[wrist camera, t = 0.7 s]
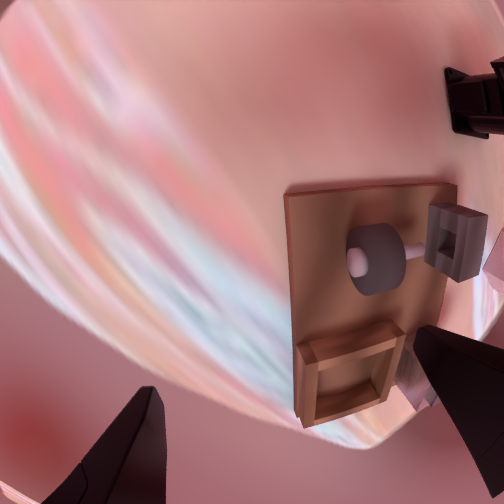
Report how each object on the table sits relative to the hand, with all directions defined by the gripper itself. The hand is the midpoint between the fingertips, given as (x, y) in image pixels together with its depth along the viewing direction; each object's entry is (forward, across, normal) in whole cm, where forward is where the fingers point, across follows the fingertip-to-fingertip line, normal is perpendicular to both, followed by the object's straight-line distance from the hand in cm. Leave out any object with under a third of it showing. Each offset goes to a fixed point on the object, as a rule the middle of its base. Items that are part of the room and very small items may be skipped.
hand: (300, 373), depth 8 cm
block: (+11, -16, +14) cm, 24 cm away
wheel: (+11, -9, +1) cm, 14 cm away
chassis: (+12, -11, +8) cm, 18 cm away
